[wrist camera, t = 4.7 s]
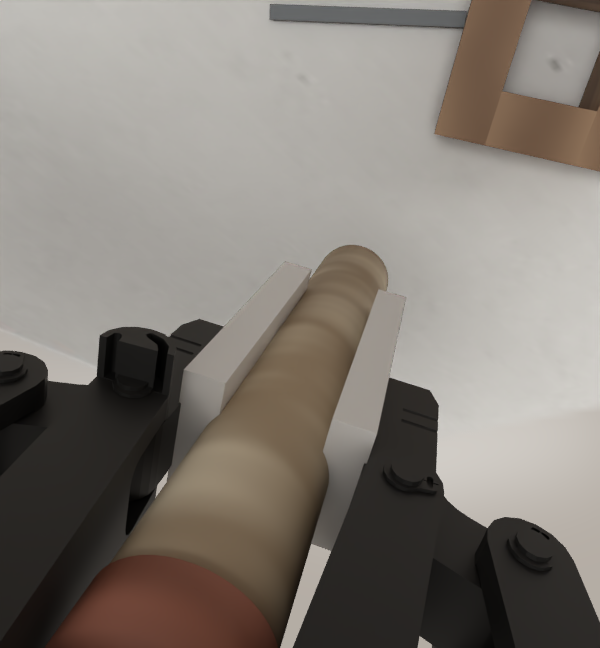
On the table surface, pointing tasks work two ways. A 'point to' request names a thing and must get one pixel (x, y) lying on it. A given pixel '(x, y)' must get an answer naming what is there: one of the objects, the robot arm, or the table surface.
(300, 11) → the gray square bar
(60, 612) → the robot arm
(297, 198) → the table surface
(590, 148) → the wooden block with hole
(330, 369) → the wooden dowel rod
